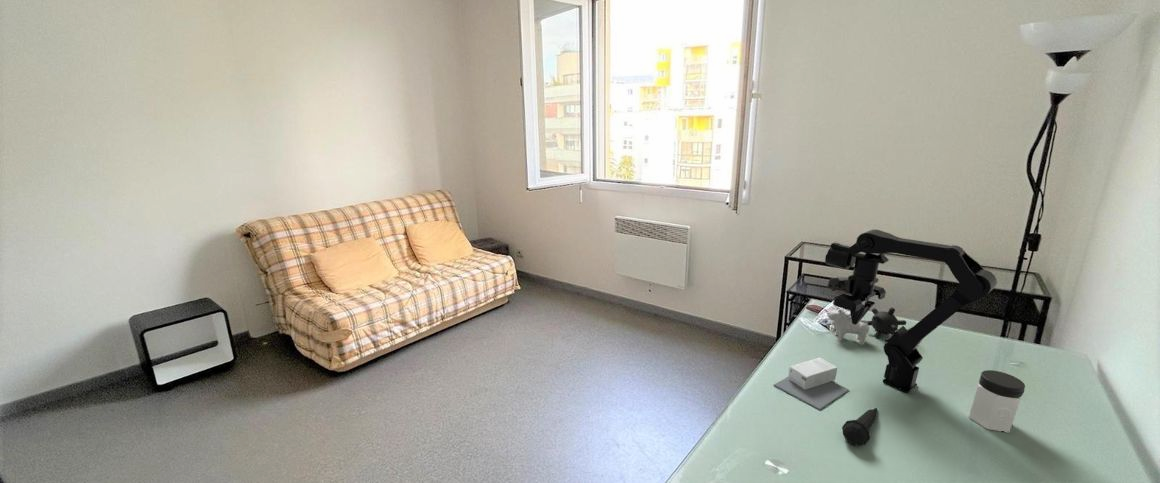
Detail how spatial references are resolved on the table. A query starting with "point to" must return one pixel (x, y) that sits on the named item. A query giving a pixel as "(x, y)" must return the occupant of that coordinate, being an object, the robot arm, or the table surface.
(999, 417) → the jar
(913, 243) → the robot arm
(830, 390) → the mat
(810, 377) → the skincare box
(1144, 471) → the table surface
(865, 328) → the dog figurine
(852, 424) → the microphone
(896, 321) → the toy ball
